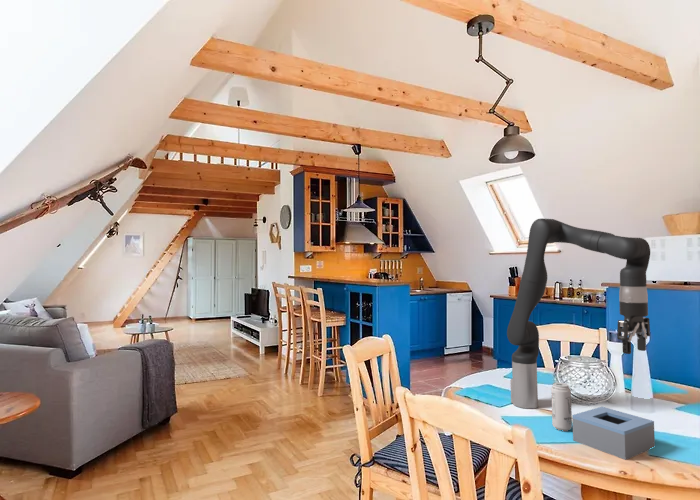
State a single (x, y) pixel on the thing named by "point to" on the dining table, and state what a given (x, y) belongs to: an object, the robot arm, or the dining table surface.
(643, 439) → the box
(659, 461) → the dining table surface
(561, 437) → the dining table surface
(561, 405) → the energy drink can
